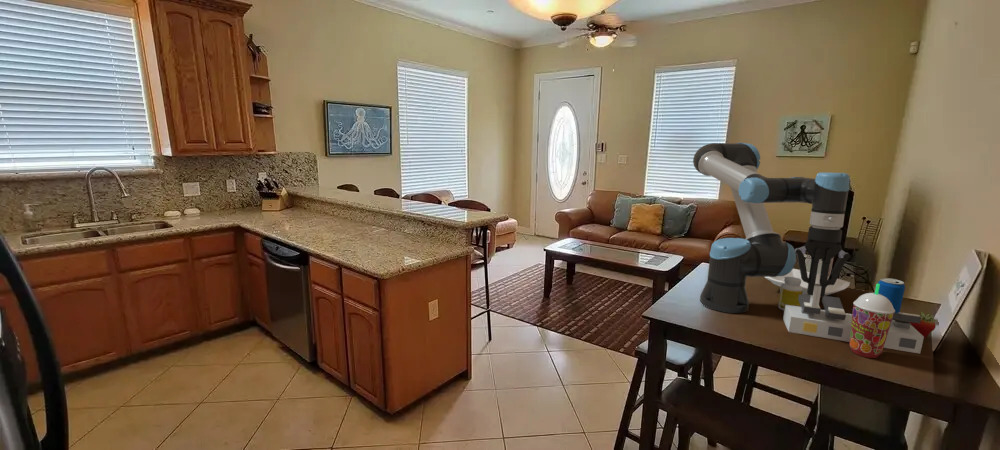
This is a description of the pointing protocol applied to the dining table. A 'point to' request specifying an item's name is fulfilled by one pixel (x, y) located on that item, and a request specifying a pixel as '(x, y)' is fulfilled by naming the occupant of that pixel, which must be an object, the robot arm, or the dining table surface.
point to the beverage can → (892, 291)
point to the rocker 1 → (807, 305)
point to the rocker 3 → (907, 317)
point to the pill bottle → (790, 292)
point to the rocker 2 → (833, 308)
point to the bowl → (796, 273)
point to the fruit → (924, 325)
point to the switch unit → (849, 329)
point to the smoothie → (870, 324)
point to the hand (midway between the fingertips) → (813, 305)
